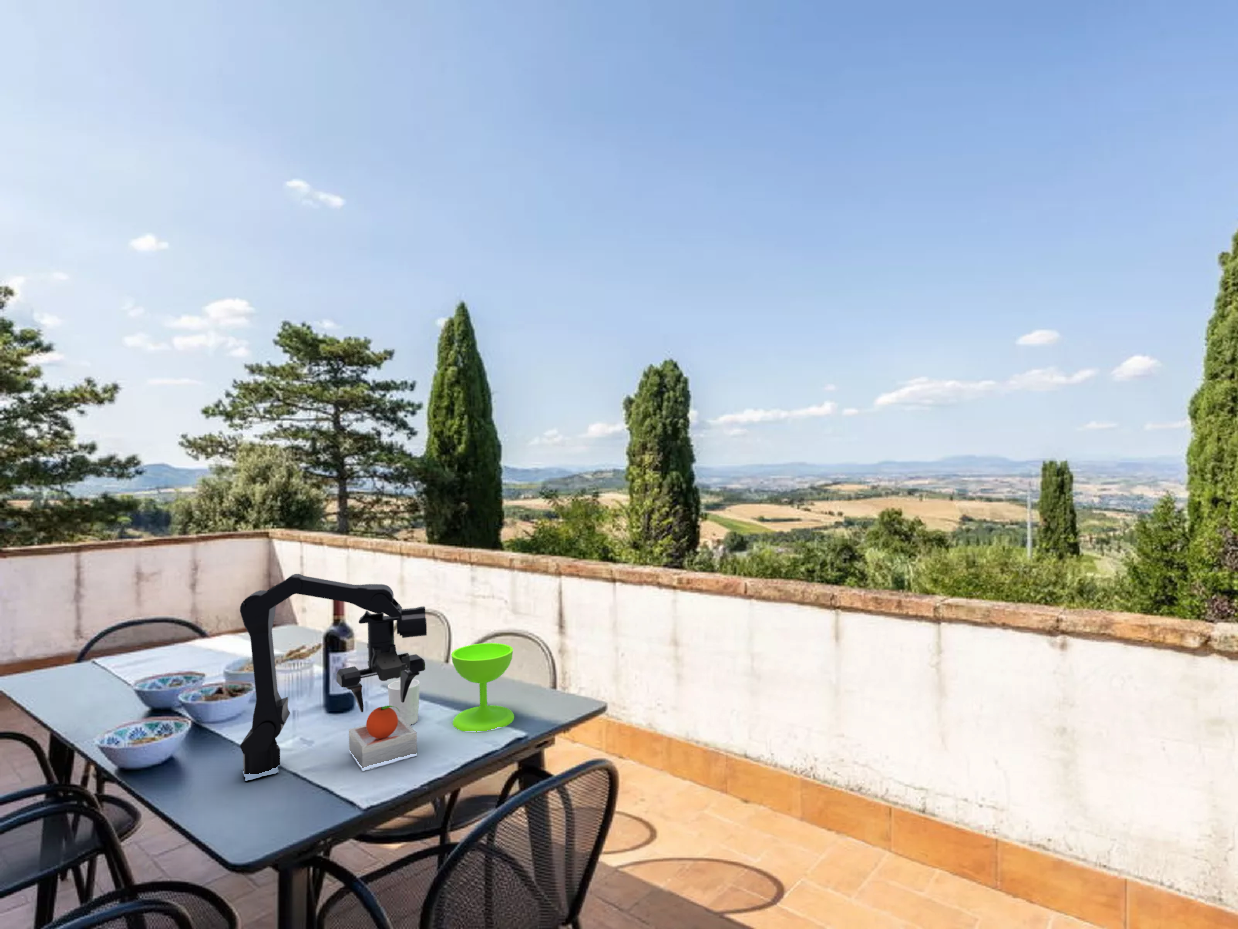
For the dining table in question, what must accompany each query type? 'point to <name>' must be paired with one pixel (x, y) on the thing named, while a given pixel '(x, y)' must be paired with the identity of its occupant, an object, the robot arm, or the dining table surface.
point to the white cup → (411, 703)
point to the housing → (382, 744)
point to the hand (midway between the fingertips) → (382, 706)
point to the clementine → (382, 722)
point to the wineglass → (482, 684)
